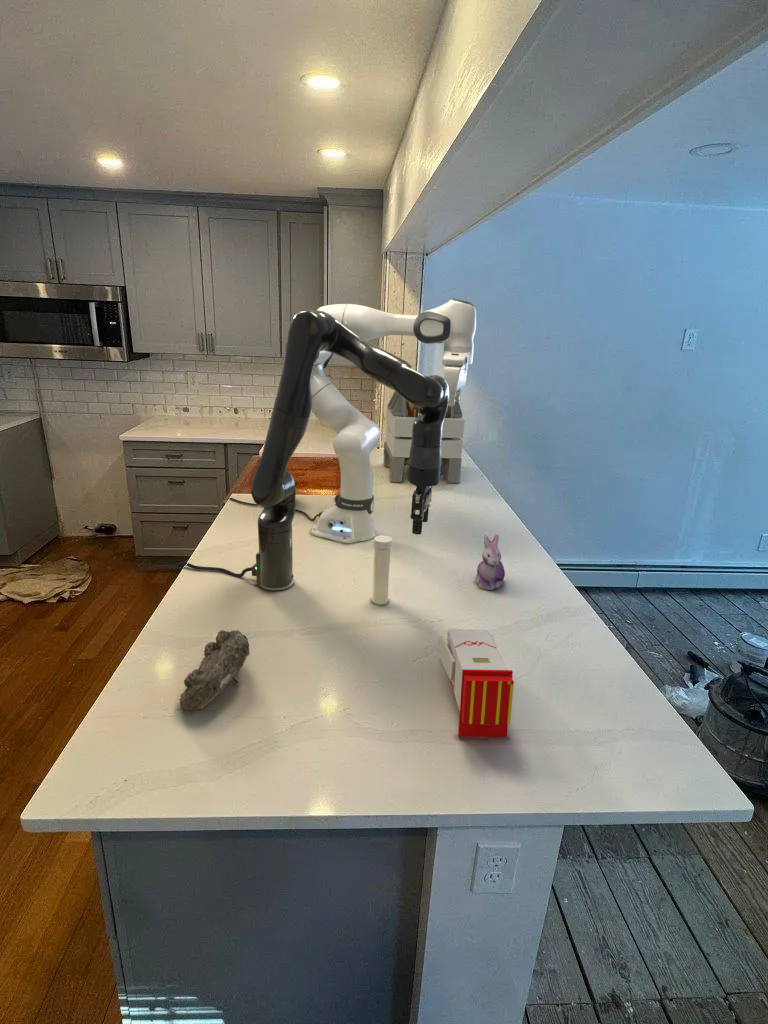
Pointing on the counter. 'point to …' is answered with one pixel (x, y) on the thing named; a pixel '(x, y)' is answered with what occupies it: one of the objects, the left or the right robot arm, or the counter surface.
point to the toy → (478, 682)
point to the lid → (382, 542)
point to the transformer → (400, 438)
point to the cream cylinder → (381, 575)
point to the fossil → (215, 669)
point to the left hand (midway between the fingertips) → (420, 527)
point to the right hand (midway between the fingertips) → (454, 403)
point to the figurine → (490, 565)
